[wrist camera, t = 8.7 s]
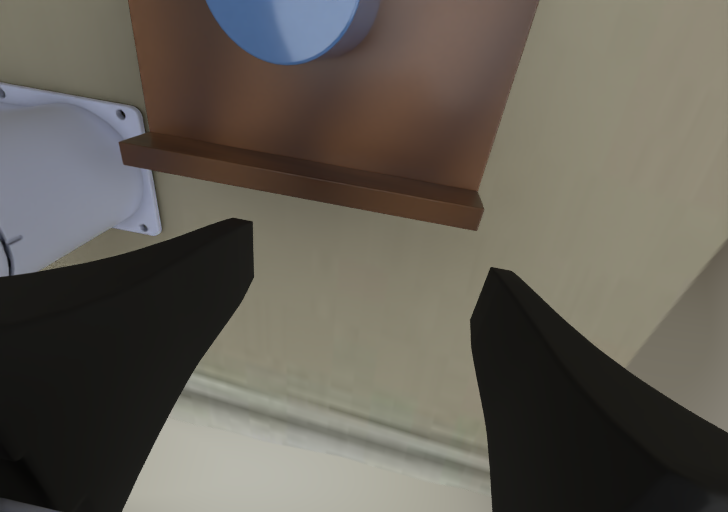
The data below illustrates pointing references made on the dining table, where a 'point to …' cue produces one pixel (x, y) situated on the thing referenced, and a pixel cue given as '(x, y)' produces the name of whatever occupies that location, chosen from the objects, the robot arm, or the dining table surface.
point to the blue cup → (295, 27)
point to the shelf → (335, 106)
